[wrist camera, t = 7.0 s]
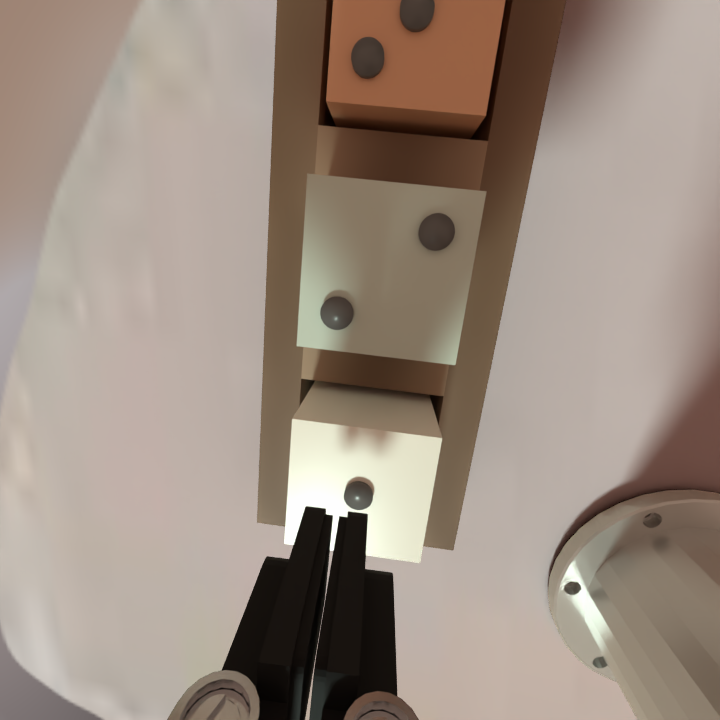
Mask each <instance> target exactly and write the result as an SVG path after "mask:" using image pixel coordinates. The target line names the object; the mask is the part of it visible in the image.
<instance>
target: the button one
mask: <svg viewBox="0 0 720 720" xmlns="http://www.w3.org/2000/svg"><path fill="white" fill-rule="evenodd" d="M441 443H442V435H441V432H440V429H439V425H438V422H437V419H436V415H435V412H434V409H433V405H432V402H431V399H430V395H429V394H421V393H413V392H405V391H397V390H389V389H381V388H372V387H364V386H356V385H348V384H340V383H332V382H324V381H316V380H315V382H314V384H313V385H312V387H311V389H310V390H309V392H308V394H307V395H306V397H305V398H304V400H303V402H302V403H301V405H300V407H299V408H298V410H297V412H296V413H295V415H294V416H293V418H292V428H291V444H290V460H289V476H288V493H287V509H286V525H285V541H284V544H291V545H294V542H295V539H296V536H297V532H298V529H299V526H300V522H301V519H302V516H303V513H304V509H305V507H306V506H310V507H318V508H326V514H327V515H333V522H332V532H331V542H330V550H333V551H334V545H335V539H336V533H337V527H338V521H339V516H343V517H347V515H348V511H350V512H358V513H366V514H368V523H367V541H366V555H367V556H374V557H381V558H388V559H395V560H402V561H409V562H416V563H420V560H421V555H422V549H423V544H424V538H425V532H426V527H427V521H428V516H429V510H430V504H431V499H432V493H433V488H434V482H435V477H436V471H437V465H438V460H439V454H440V449H441Z"/></svg>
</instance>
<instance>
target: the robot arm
mask: <svg viewBox="0 0 720 720" xmlns="http://www.w3.org/2000/svg"><path fill="white" fill-rule="evenodd" d="M332 522H333V515H327V514H326V508H318V507H310V506H306V507H305V509H304V513H303V516H302V519H301V522H300V526H299V529H298V532H297V536H296V539H295V542H294V545H293V549H292V552H291V555H290V558H289V559H283V558H275V557H268V556H267V557H266V559H265V561H264V563H263V565H262V568H261V570H260V573H259V575H258V578H257V581H256V583H255V586H254V588H253V591H252V594H251V596H250V599H249V601H248V604H247V607H246V609H245V612H244V614H243V617H242V619H241V622H240V625H239V627H238V630H237V632H236V635H235V638H234V640H233V643H232V645H231V648H230V651H229V653H228V656H227V658H226V661H225V663H224V666H223V669H222V671H218V672H213V673H211V674H209V675H207V676H205V677H203V678H201V679H199V680H198V681H197V682H195V683H194V684H193V685H192V686H191V687H189V688H188V689H187V690H186V692H185V693H184V694H183V696H182V697H181V698H180V700H179V701H178V702H177V704H176V706H175V707H174V709H173V711H172V712H171V714H170V716H169V717H168V719H167V720H305V716H306V710H307V704H308V698H309V692H310V686H311V680H312V674H313V668H314V662H315V656H316V662H315V669H314V678H313V688H312V698H311V708H310V719H309V720H419V719H418V718H417V716H416V714H415V713H414V711H413V710H412V708H411V707H410V706H409V705H407V704H406V703H405V702H404V701H403V700H402V699H401V698H399V697H397V674H396V645H395V617H394V588H393V574H392V573H390V572H382V571H375V570H367V569H365V559H366V541H367V523H368V514H366V513H358V512H350V511H348V515H347V517H343V516H339V521H338V527H337V533H336V539H335V545H334V551H333V557H332V563H331V569H330V576H329V582H328V588H327V594H326V600H325V592H326V582H327V572H328V562H329V552H330V542H331V532H332ZM324 600H325V606H324ZM548 601H549V608H550V612H551V615H552V617H553V620H554V622H555V625H556V627H557V629H558V632H559V634H560V635H561V637H562V639H563V641H564V643H565V645H566V646H567V648H568V649H569V650H570V651H571V652H572V653H573V654H574V655H575V657H576V658H577V659H578V660H579V661H580V662H582V663H583V664H584V665H586V666H587V667H588V668H589V669H591V670H592V671H594V672H596V673H598V674H600V675H602V676H604V677H606V678H608V679H610V680H613V681H616V682H617V683H618V685H619V687H620V688H621V690H622V692H623V694H624V696H625V698H626V700H627V701H628V703H629V705H630V707H631V709H632V711H633V713H634V714H635V716H636V718H637V720H720V494H719V493H715V492H707V491H700V490H667V491H661V492H656V493H650V494H645V495H641V496H638V497H635V498H632V499H629V500H627V501H624V502H621V503H618V504H617V505H615V506H613V507H611V508H609V509H607V510H605V511H603V512H601V513H599V514H598V515H597V516H595V517H594V518H593V519H591V520H590V521H589V522H587V523H586V524H585V525H583V526H582V527H581V528H580V529H579V530H578V531H577V532H576V533H575V534H574V535H573V536H572V537H571V538H570V539H569V540H568V542H567V543H566V544H565V546H564V547H563V549H562V550H561V552H560V554H559V555H558V557H557V558H556V560H555V563H554V566H553V569H552V572H551V574H550V577H549V586H548ZM323 608H324V612H323ZM322 614H323V618H322ZM321 620H322V624H321ZM320 626H321V630H320ZM319 632H320V636H319ZM318 638H319V643H318ZM317 644H318V649H317ZM316 650H317V655H316Z"/></svg>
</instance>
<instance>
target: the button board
mask: <svg viewBox="0 0 720 720" xmlns="http://www.w3.org/2000/svg"><path fill="white" fill-rule="evenodd" d="M565 4H566V0H505V6H504V12H503V18H502V24H501V30H500V36H499V42H498V47H497V53H496V59H495V65H494V71H493V77H492V83H491V88H490V94H489V100H488V106H487V112H486V116H485V118H484V119H483V121H482V122H481V124H480V125H479V127H478V128H477V130H476V131H475V133H474V134H473V136H472V137H471V139H459V138H449V137H438V136H427V135H417V134H406V133H395V132H385V131H374V130H363V129H353V128H342V127H336V125H335V123H334V120H333V118H332V115H331V113H330V110H329V108H328V105H327V102H326V94H327V80H328V66H329V52H330V38H331V24H332V10H333V0H277V17H276V43H275V69H274V95H273V121H272V147H271V173H270V199H269V225H268V251H267V277H266V304H265V330H264V356H263V382H262V408H261V434H260V460H259V486H258V512H257V523H264V524H271V525H278V526H285V525H286V509H287V493H288V476H289V460H290V444H291V428H292V418H293V416H294V415H295V413H296V412H297V410H298V408H299V407H300V405H301V403H302V402H303V400H304V398H305V397H306V395H307V394H308V392H309V390H310V389H311V387H312V385H313V384H314V382H315V380H316V381H324V382H332V383H340V384H348V385H356V386H364V387H372V388H381V389H389V390H397V391H405V392H413V393H421V394H429V395H430V399H431V402H432V405H433V409H434V412H435V415H436V419H437V422H438V425H439V429H440V432H441V435H442V443H441V449H440V454H439V460H438V465H437V471H436V477H435V482H434V488H433V493H432V499H431V504H430V510H429V516H428V521H427V527H426V532H425V538H424V544H423V546H426V547H433V548H440V549H447V550H453V549H454V544H455V539H456V534H457V530H458V525H459V520H460V515H461V510H462V505H463V500H464V496H465V491H466V486H467V481H468V476H469V471H470V466H471V461H472V457H473V452H474V447H475V442H476V437H477V432H478V427H479V422H480V418H481V413H482V408H483V403H484V398H485V393H486V388H487V383H488V379H489V374H490V369H491V364H492V359H493V354H494V349H495V345H496V340H497V335H498V330H499V325H500V320H501V315H502V310H503V306H504V301H505V296H506V291H507V286H508V281H509V276H510V271H511V267H512V262H513V257H514V252H515V247H516V242H517V237H518V232H519V228H520V223H521V218H522V213H523V208H524V203H525V198H526V194H527V189H528V184H529V179H530V174H531V169H532V164H533V159H534V155H535V150H536V145H537V140H538V135H539V130H540V125H541V120H542V116H543V111H544V106H545V101H546V96H547V91H548V86H549V82H550V77H551V72H552V67H553V62H554V57H555V52H556V47H557V43H558V38H559V33H560V28H561V23H562V18H563V13H564V8H565ZM307 174H317V175H327V176H337V177H347V178H357V179H367V180H377V181H387V182H397V183H407V184H417V185H427V186H437V187H447V188H457V189H467V190H477V191H487V192H486V197H485V203H484V209H483V214H482V220H481V225H480V231H479V236H478V242H477V248H476V253H475V259H474V264H473V270H472V276H471V281H470V287H469V292H468V298H467V303H466V309H465V315H464V320H463V326H462V331H461V337H460V343H459V348H458V354H457V359H456V365H449V364H441V363H433V362H424V361H416V360H408V359H399V358H391V357H383V356H375V355H366V354H358V353H350V352H341V351H333V350H325V349H316V348H308V347H300V346H297V331H298V315H299V299H300V283H301V267H302V251H303V235H304V219H305V202H306V186H307Z"/></svg>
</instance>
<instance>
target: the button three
mask: <svg viewBox="0 0 720 720" xmlns="http://www.w3.org/2000/svg"><path fill="white" fill-rule="evenodd" d="M504 6H505V0H333V10H332V24H331V38H330V52H329V66H328V80H327V94H326V102H327V105H328V108H329V110H330V113H331V115H332V118H333V120H334V123H335V125H336V127H342V128H353V129H363V130H374V131H385V132H395V133H406V134H417V135H427V136H438V137H449V138H459V139H471V137H472V136H473V134H474V133H475V131H476V130H477V128H478V127H479V125H480V124H481V122H482V121H483V119H484V118H485V116H486V112H487V106H488V100H489V94H490V88H491V83H492V77H493V71H494V65H495V59H496V53H497V47H498V42H499V36H500V30H501V24H502V18H503V12H504Z"/></svg>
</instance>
